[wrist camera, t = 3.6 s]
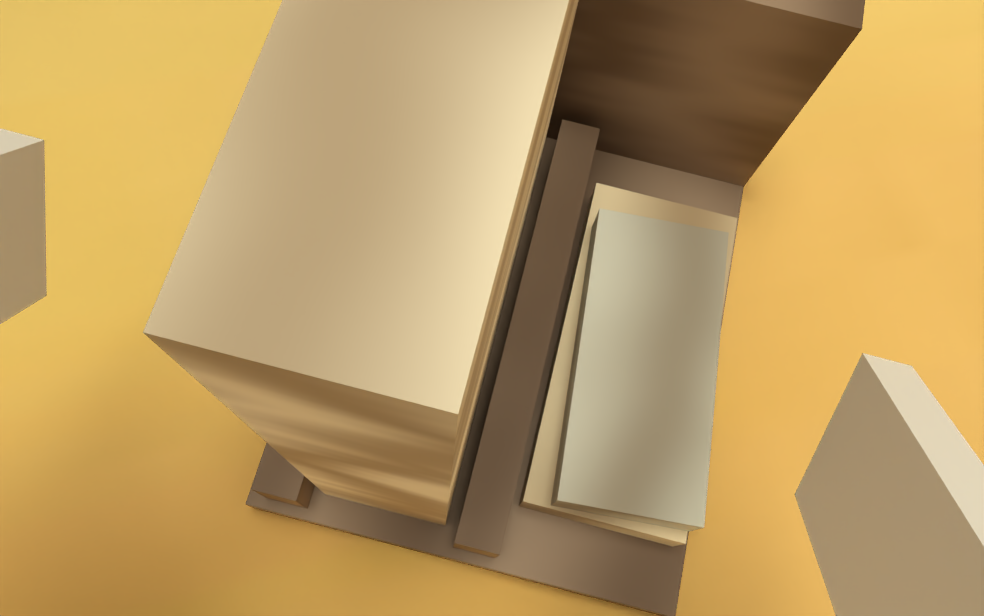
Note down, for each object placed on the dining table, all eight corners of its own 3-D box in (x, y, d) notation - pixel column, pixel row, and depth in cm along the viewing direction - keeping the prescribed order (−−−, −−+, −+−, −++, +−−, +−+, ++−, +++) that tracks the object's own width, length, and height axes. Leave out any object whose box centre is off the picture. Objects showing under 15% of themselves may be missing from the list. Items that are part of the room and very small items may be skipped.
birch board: (325, 494, 23) (142, 332, 9) (437, 136, 27) (437, -370, 13) (445, 525, 23) (458, 414, 9) (540, 162, 27) (654, -318, 13)
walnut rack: (253, 507, 24) (149, 459, 15) (400, 78, 29) (384, -138, 20) (665, 616, 23) (795, 629, 15) (739, 163, 28) (866, -20, 20)
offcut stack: (518, 506, 23) (528, 496, 21) (588, 201, 26) (604, 161, 24) (673, 546, 23) (702, 541, 20) (724, 235, 26) (754, 199, 24)
